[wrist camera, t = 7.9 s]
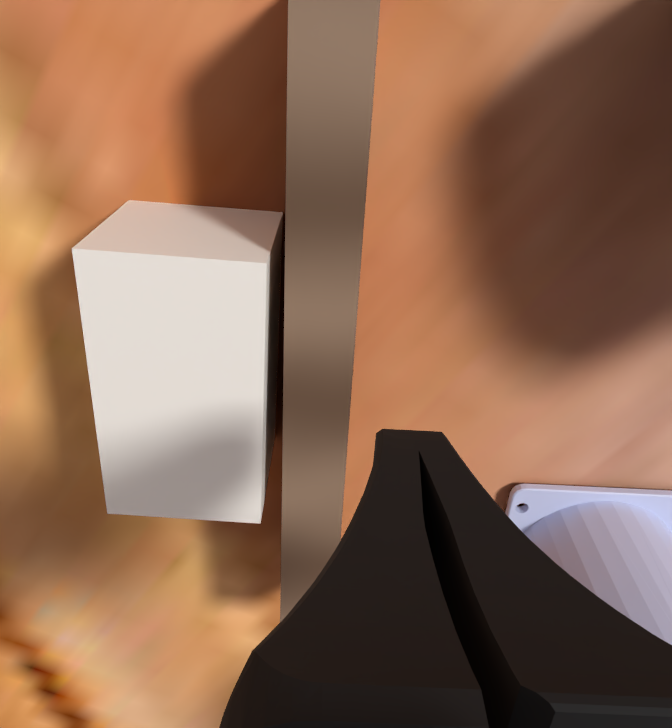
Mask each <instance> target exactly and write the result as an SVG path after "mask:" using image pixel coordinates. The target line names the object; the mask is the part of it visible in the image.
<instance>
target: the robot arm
mask: <svg viewBox="0 0 672 728" xmlns="http://www.w3.org/2000/svg"><path fill="white" fill-rule="evenodd" d="M521 503H525V504H524V505H523V506H519V507H518V506H517V505H519V504H521ZM220 728H672V491H670V490H649V489H628V488H608V487H587V486H566V485H545V484H519V485H516V486H515V487H514V488H512V490H511V492H510V495H509V499H508V504H507V508H506V512H505V513H504V512H503V510H502V509H501V508H500V507H499V506H498V505H497V504H496V502H495V501H494V500H493V499H492V497H491V496H490V495H489V494H488V493H487V491H486V490H485V489H484V488H483V486H482V485H481V484H480V483H479V482H478V480H477V479H476V478H475V476H474V475H473V474H472V472H471V471H470V470H469V468H468V467H467V466H466V464H465V463H464V462H463V460H462V459H461V458H460V456H459V455H458V453H457V452H456V451H455V449H454V448H453V446H452V445H451V443H450V442H449V441H448V439H447V438H446V436H445V435H444V434H443V433H442V432H434V431H413V430H393V429H382V430H380V431H379V432H377V433H376V441H375V451H374V461H373V467H372V471H371V474H370V477H369V480H368V482H367V485H366V488H365V491H364V494H363V496H362V498H361V501H360V503H359V505H358V507H357V509H356V512H355V514H354V516H353V518H352V520H351V522H350V524H349V526H348V528H347V530H346V532H345V534H344V536H343V537H342V539H341V541H340V543H339V544H338V546H337V548H336V549H335V551H334V553H333V554H332V556H331V557H330V559H329V560H328V562H327V563H326V565H325V566H324V568H323V570H322V571H321V573H320V574H319V575H318V577H317V578H316V580H315V581H314V582H313V584H312V585H311V586H310V588H309V589H308V590H307V591H306V592H305V594H304V595H303V596H302V597H301V599H300V600H299V601H298V602H297V604H296V605H295V606H294V607H293V609H292V610H291V611H290V612H289V613H288V615H287V616H286V617H285V618H284V619H283V620H282V621H281V622H280V623H279V624H278V625H277V626H276V627H275V628H274V629H273V630H272V632H271V633H270V634H269V635H268V636H267V637H266V638H265V639H264V640H263V641H262V642H261V643H260V644H259V645H258V646H257V647H256V648H255V649H254V650H253V651H252V653H251V655H250V657H249V659H248V661H247V663H246V665H245V667H244V669H243V671H242V673H241V675H240V677H239V679H238V681H237V683H236V685H235V687H234V690H233V692H232V694H231V696H230V699H229V701H228V704H227V706H226V709H225V712H224V715H223V717H222V721H221V724H220Z"/></svg>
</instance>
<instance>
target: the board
mask: <svg viewBox="0 0 672 728" xmlns="http://www.w3.org/2000/svg"><path fill="white" fill-rule="evenodd" d="M379 12H380V0H288V50H287V129H286V209H285V289H284V368H283V448H282V528H281V607H280V622H281V621H282V620H283V619H284V618H285V617H286V616H287V615H288V613H289V612H290V611H291V610H292V609H293V607H294V606H295V605H296V604H297V602H298V601H299V600H300V599H301V597H302V596H303V595H304V594H305V592H306V591H307V590H308V589H309V588H310V586H311V585H312V584H313V582H314V581H315V580H316V578H317V577H318V575H319V574H320V573H321V571H322V570H323V568H324V566H325V565H326V563H327V562H328V560H329V559H330V557H331V556H332V554H333V553H334V551H335V549H336V548H337V546H338V544H339V543H340V538H341V524H342V511H343V497H344V484H345V470H346V457H347V443H348V430H349V416H350V403H351V389H352V376H353V362H354V349H355V335H356V322H357V308H358V295H359V281H360V268H361V255H362V241H363V228H364V214H365V201H366V187H367V174H368V160H369V147H370V133H371V120H372V106H373V93H374V79H375V66H376V52H377V39H378V25H379Z"/></svg>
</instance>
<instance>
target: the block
mask: <svg viewBox="0 0 672 728" xmlns="http://www.w3.org/2000/svg"><path fill="white" fill-rule="evenodd" d="M282 224H283V212H274V211H261V210H248V209H236V208H223V207H210V206H197V205H185V204H172V203H159V202H146V201H133V200H128V201H127V202H126V203H125V204H124V205H123V206H121V207H120V208H119V209H118V210H117V211H115V212H114V213H113V214H112V215H111V216H110V217H108V218H107V219H106V220H105V221H104V222H102V223H101V224H100V225H99V226H98V227H97V228H95V229H94V230H93V231H92V232H91V233H89V234H88V235H87V236H86V237H85V238H84V239H82V240H81V241H80V242H79V243H78V244H76V245H75V246H74V247H73V248H72V254H73V262H74V269H75V276H76V284H77V291H78V299H79V306H80V314H81V321H82V329H83V336H84V344H85V351H86V358H87V366H88V373H89V381H90V388H91V396H92V403H93V411H94V418H95V426H96V433H97V440H98V448H99V455H100V463H101V470H102V478H103V485H104V493H105V500H106V507H107V514H121V515H137V516H152V517H167V518H182V519H197V520H213V521H228V522H243V523H258V524H261V518H262V512H263V506H264V500H265V494H266V488H267V482H268V476H269V470H270V464H271V458H272V452H273V446H274V440H275V423H276V395H277V366H278V338H279V309H280V281H281V252H282Z"/></svg>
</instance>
